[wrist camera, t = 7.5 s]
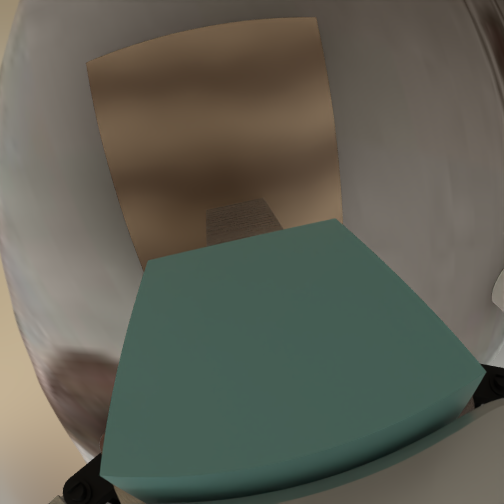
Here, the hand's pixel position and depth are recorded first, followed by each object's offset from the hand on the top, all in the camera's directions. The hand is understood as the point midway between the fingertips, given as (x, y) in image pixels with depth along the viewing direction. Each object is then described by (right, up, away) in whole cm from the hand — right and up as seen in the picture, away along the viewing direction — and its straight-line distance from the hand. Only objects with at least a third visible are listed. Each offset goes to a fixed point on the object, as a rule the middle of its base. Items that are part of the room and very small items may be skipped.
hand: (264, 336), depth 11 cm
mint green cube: (0, +1, +1) cm, 1 cm away
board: (-2, +9, +8) cm, 12 cm away
